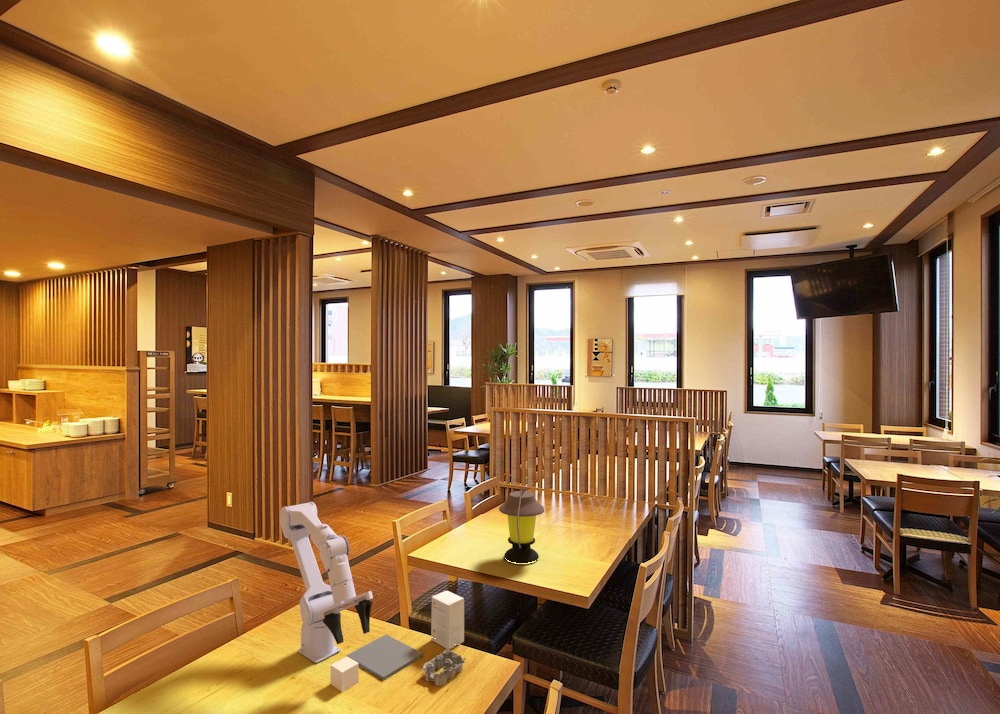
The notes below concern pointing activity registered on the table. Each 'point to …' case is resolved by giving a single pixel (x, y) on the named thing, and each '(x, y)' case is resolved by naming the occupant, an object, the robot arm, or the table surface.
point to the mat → (385, 656)
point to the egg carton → (448, 672)
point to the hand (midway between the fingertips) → (353, 638)
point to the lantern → (521, 525)
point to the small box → (447, 619)
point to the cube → (344, 673)
